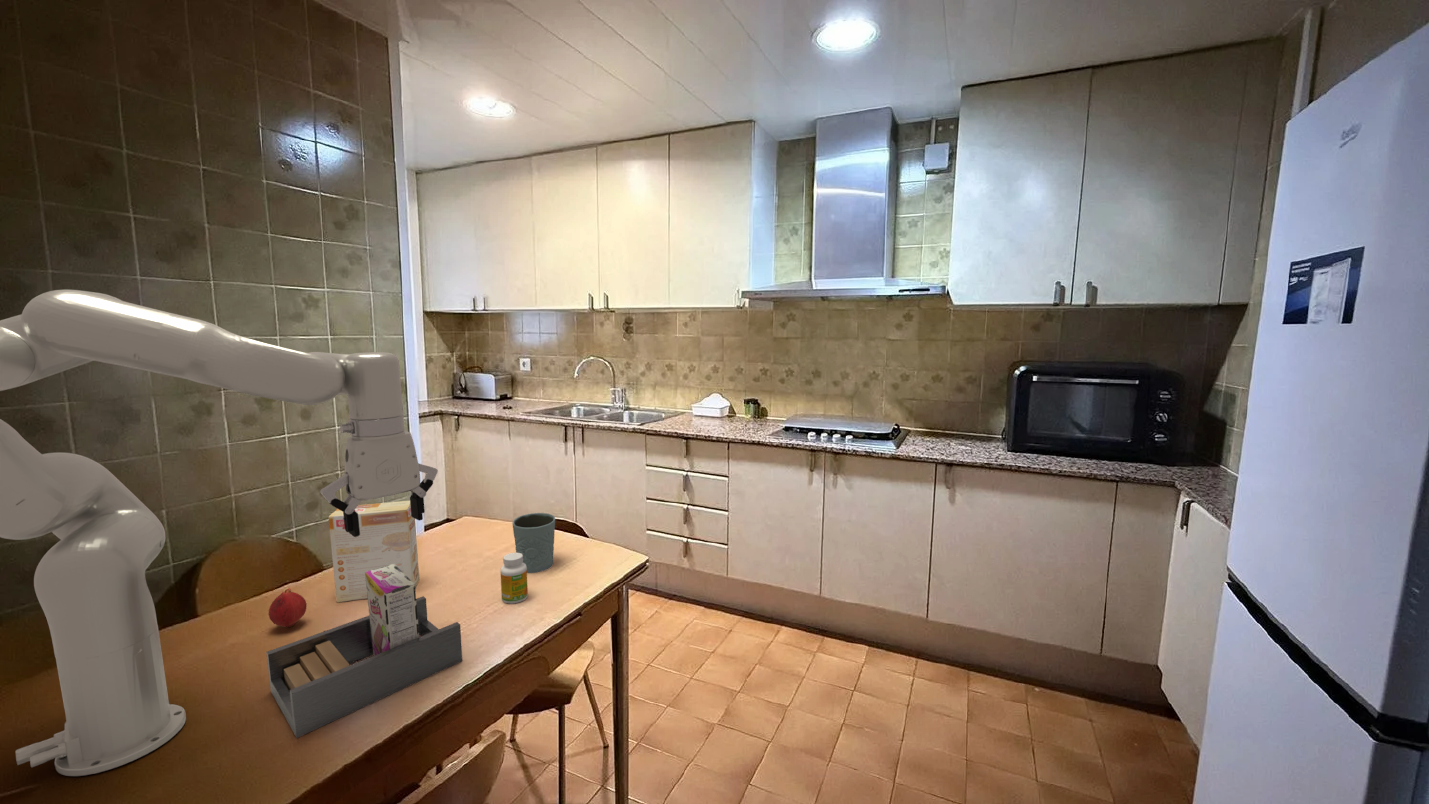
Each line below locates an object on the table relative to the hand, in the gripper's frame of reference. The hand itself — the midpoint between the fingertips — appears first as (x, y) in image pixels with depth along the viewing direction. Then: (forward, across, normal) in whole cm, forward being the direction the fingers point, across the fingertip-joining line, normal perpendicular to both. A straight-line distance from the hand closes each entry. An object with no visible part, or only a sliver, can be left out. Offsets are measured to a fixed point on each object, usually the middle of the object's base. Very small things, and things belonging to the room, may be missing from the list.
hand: (387, 526), depth 92 cm
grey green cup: (+26, +38, +17) cm, 49 cm away
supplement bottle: (+26, +26, +6) cm, 37 cm away
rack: (+25, -4, 0) cm, 26 cm away
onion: (+26, -9, +29) cm, 40 cm away
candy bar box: (+26, 0, 0) cm, 26 cm away
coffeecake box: (+26, +8, +32) cm, 42 cm away
